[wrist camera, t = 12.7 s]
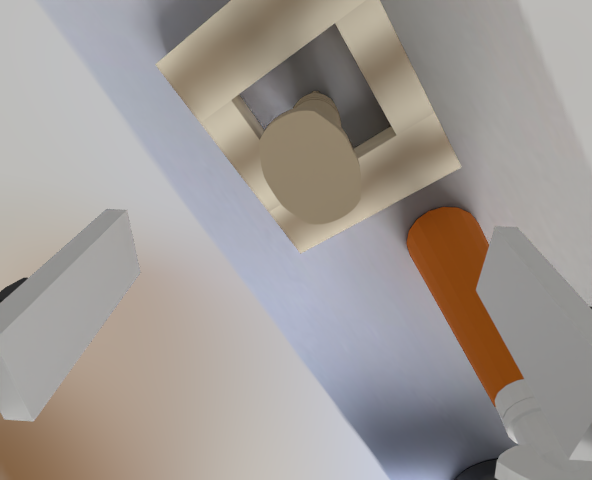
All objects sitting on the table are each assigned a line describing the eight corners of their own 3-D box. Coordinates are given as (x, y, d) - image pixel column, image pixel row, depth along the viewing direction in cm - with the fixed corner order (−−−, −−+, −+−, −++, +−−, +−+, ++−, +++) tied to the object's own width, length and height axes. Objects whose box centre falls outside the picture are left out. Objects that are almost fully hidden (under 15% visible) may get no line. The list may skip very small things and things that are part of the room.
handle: (323, 59, 32) (323, 92, 19) (357, 129, 34) (377, 201, 21) (272, 89, 33) (240, 140, 20) (309, 154, 36) (300, 236, 23)
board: (451, 155, 35) (461, 167, 32) (302, 238, 40) (300, 253, 38) (334, -80, 27) (336, -90, 25) (168, 60, 32) (155, 64, 30)
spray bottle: (515, 259, 40) (766, 585, 17) (406, 270, 41) (507, 584, 19) (523, 195, 37) (850, 499, 14) (404, 210, 38) (524, 506, 15)
